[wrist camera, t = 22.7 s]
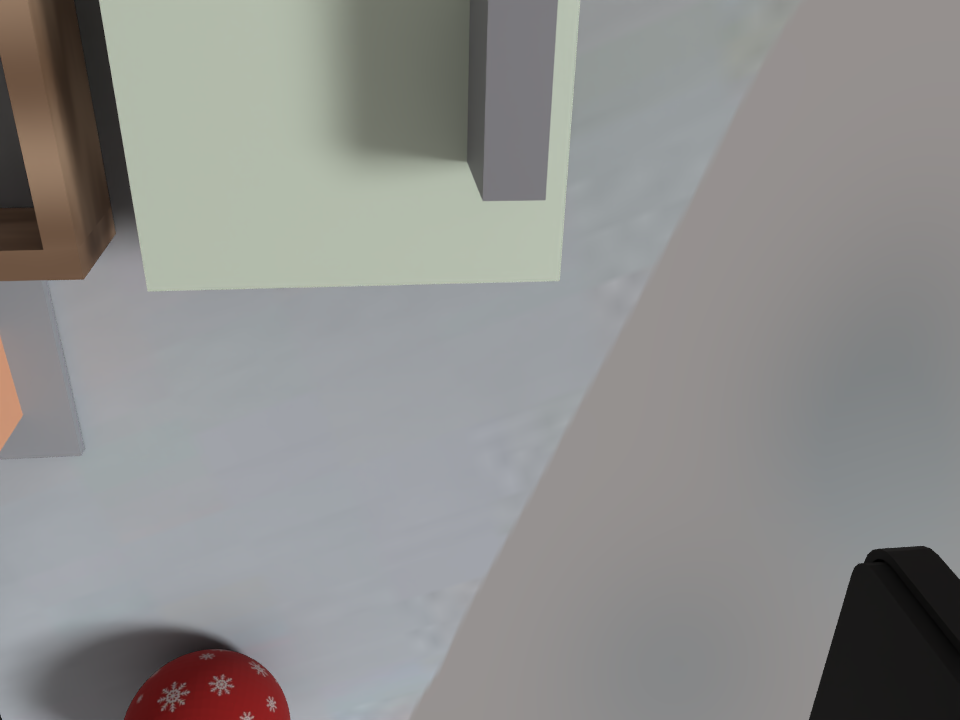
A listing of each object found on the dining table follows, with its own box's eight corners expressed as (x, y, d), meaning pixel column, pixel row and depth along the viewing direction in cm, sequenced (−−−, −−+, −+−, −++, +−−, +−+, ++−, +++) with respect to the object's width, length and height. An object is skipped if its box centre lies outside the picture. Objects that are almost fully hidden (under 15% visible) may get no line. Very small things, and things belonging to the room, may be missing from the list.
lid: (74, -204, 26) (9, -225, 21) (586, -184, 28) (634, -199, 23) (153, 280, 33) (118, 347, 28) (554, 271, 35) (586, 332, 30)
